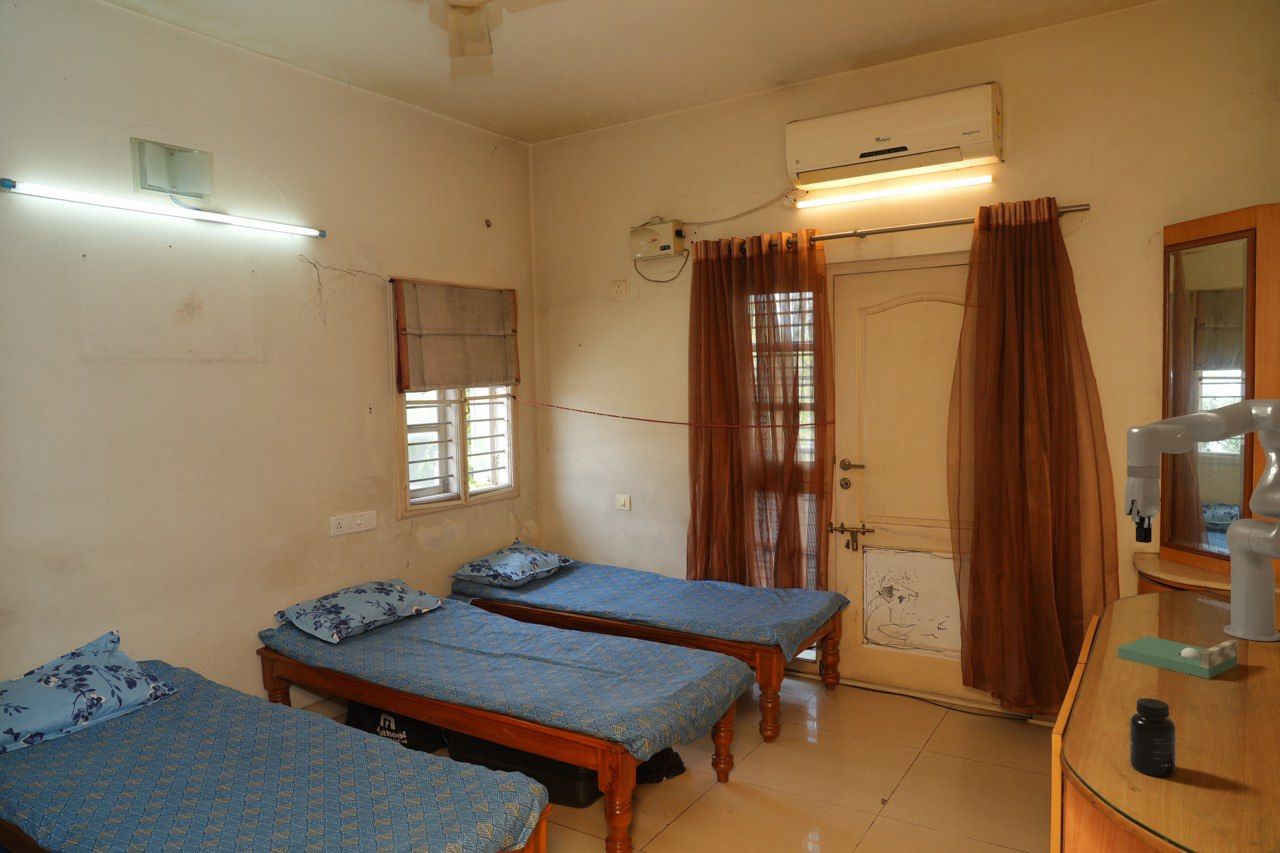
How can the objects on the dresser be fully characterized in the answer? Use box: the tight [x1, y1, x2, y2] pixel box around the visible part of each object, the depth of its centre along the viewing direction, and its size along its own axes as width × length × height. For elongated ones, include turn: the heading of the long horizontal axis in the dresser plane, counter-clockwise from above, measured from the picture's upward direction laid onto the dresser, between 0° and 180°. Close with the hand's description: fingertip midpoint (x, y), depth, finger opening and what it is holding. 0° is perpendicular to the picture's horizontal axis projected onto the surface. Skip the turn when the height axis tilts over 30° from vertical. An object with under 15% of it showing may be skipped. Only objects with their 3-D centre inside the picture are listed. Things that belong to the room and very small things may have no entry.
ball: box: [1181, 648, 1200, 660], centre depth 196 cm, size 4×4×4 cm
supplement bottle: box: [1129, 697, 1177, 778], centre depth 142 cm, size 7×7×12 cm
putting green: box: [1117, 635, 1238, 680], centre depth 199 cm, size 16×20×2 cm
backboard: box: [1201, 639, 1238, 669], centre depth 191 cm, size 16×2×4 cm, turn 124°
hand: (1143, 541), depth 212 cm, fingers closed
